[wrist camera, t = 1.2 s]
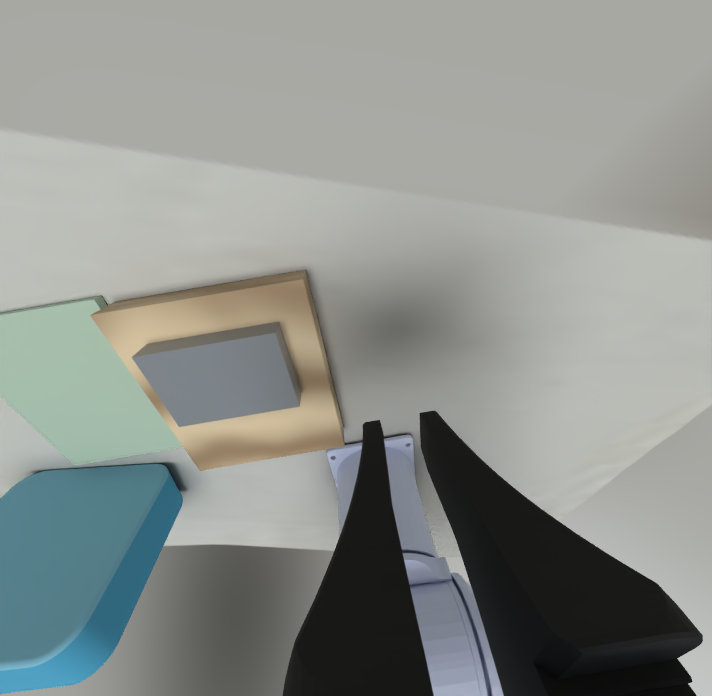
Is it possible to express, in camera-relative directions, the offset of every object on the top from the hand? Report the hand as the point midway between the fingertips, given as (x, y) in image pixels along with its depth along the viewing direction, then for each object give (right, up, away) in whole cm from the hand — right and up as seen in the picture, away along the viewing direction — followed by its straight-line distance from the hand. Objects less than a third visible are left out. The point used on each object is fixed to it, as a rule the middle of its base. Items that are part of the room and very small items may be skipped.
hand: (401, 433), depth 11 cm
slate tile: (-10, +2, +6) cm, 12 cm away
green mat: (-21, 0, +9) cm, 23 cm away
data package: (-24, -9, +14) cm, 29 cm away
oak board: (-10, +1, +9) cm, 14 cm away
